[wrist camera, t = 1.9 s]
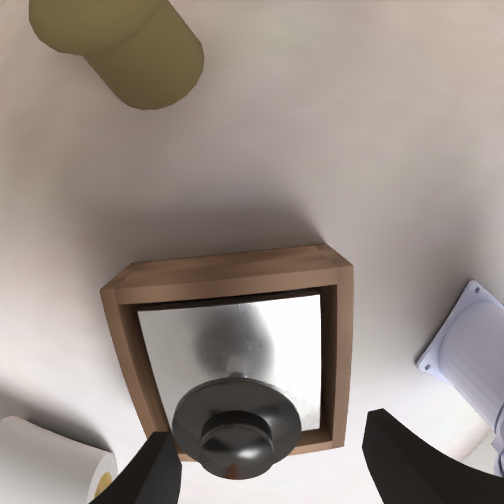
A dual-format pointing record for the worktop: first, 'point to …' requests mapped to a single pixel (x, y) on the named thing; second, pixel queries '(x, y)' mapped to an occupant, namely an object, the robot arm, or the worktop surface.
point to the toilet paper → (49, 466)
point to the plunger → (237, 376)
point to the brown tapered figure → (125, 45)
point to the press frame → (230, 284)
